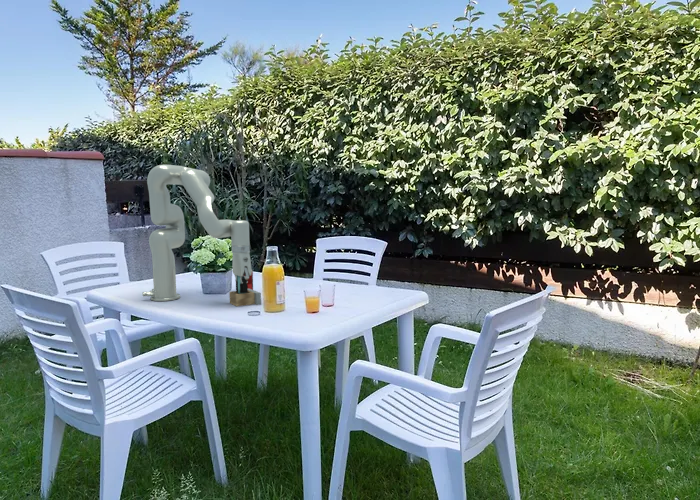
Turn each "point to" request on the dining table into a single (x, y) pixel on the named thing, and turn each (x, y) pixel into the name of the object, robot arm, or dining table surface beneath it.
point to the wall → (256, 296)
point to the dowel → (239, 285)
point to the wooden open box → (242, 298)
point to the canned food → (250, 281)
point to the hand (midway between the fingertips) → (241, 291)
